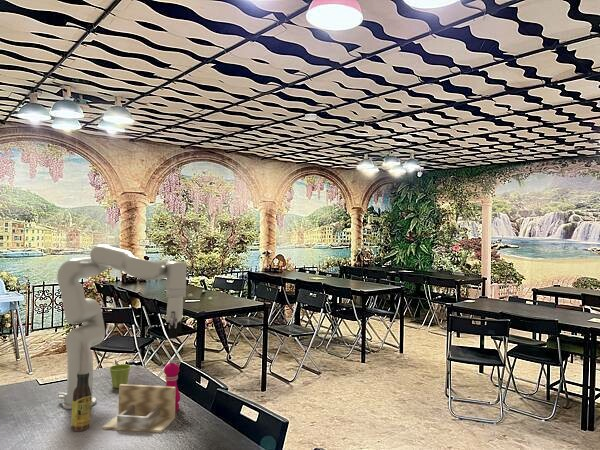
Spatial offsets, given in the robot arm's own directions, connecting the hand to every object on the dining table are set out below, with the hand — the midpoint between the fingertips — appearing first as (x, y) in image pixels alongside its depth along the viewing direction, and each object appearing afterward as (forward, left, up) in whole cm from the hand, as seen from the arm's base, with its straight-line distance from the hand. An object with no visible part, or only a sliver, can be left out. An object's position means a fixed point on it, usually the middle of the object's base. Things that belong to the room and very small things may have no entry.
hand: (174, 335), depth 185 cm
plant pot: (-36, +27, -30) cm, 54 cm away
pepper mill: (-2, +3, -30) cm, 31 cm away
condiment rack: (-8, -12, -30) cm, 34 cm away
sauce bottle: (-27, -19, -30) cm, 45 cm away
